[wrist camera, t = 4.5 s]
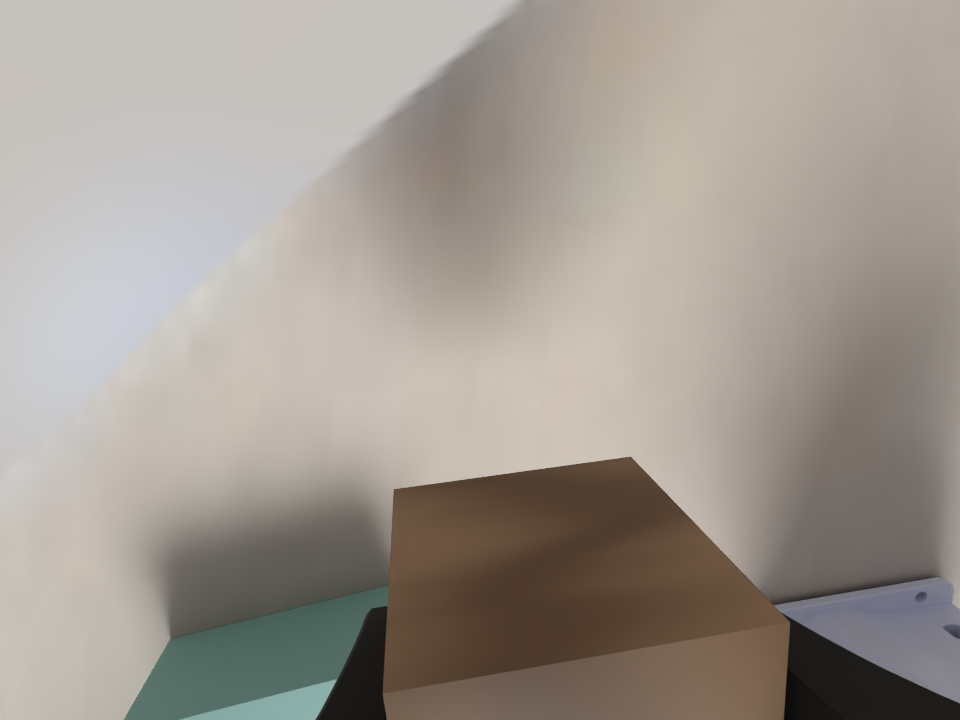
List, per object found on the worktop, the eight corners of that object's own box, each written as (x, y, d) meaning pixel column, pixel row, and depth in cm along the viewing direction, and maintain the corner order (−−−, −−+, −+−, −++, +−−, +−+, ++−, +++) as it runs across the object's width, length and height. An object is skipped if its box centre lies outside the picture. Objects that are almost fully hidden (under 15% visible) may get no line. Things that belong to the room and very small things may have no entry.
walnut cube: (630, 457, 12) (790, 622, 7) (634, 652, 13) (770, 911, 8) (394, 489, 11) (382, 693, 6) (421, 689, 12) (430, 990, 7)
